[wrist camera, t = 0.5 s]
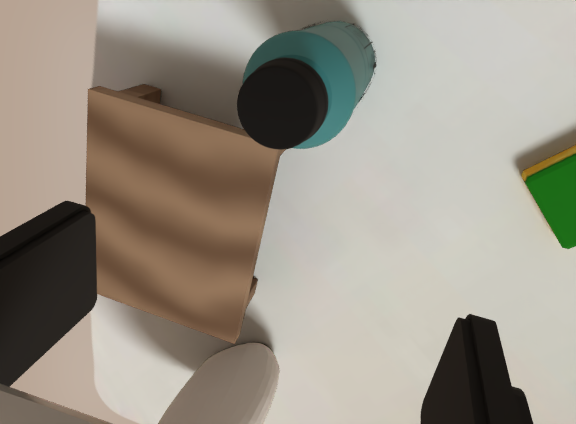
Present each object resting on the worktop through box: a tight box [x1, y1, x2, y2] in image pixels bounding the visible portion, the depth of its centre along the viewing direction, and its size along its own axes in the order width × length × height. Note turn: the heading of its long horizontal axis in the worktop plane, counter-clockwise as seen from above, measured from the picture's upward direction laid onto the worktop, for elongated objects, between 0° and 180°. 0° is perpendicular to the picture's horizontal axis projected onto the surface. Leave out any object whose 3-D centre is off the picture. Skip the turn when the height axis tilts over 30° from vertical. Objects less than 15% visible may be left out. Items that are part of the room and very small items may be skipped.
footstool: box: [86, 84, 286, 344], centre depth 44 cm, size 20×16×8 cm
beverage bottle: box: [237, 20, 377, 150], centre depth 30 cm, size 6×7×20 cm
